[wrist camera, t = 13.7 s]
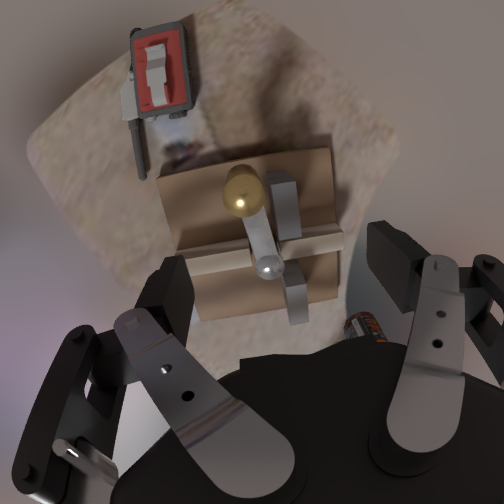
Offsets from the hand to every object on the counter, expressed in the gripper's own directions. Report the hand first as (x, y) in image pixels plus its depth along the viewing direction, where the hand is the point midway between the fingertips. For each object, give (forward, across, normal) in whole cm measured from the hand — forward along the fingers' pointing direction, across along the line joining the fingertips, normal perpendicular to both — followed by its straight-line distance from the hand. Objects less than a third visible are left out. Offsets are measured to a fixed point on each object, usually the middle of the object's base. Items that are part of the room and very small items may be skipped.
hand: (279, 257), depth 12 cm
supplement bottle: (+24, -14, +29) cm, 40 cm away
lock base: (+24, 0, +10) cm, 26 cm away
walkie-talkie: (+24, +9, -11) cm, 28 cm away
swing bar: (+17, +1, +5) cm, 18 cm away
